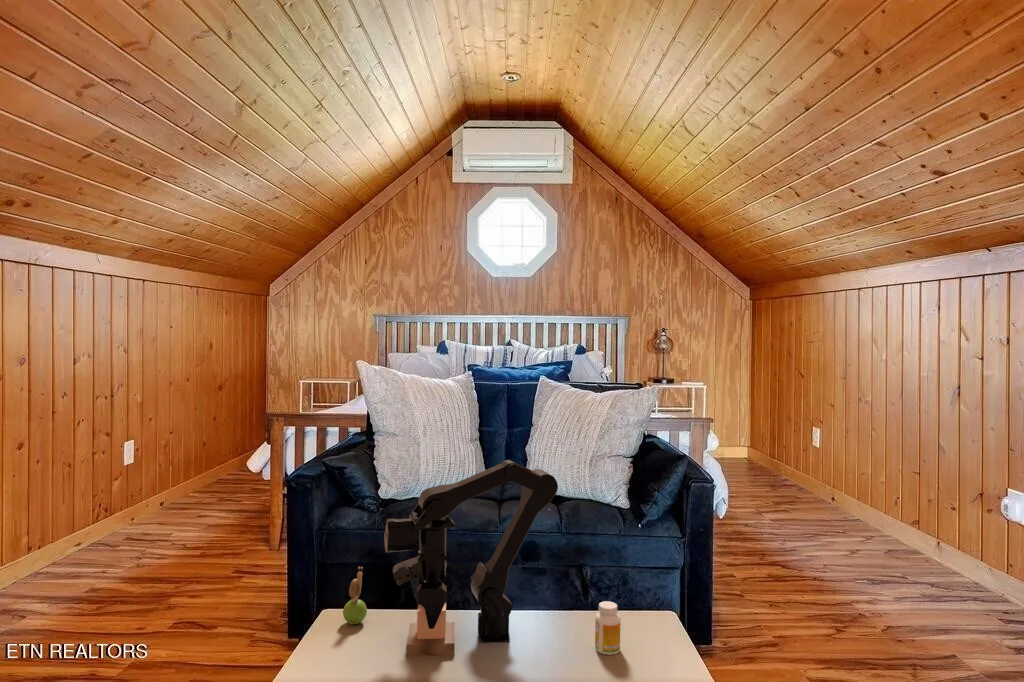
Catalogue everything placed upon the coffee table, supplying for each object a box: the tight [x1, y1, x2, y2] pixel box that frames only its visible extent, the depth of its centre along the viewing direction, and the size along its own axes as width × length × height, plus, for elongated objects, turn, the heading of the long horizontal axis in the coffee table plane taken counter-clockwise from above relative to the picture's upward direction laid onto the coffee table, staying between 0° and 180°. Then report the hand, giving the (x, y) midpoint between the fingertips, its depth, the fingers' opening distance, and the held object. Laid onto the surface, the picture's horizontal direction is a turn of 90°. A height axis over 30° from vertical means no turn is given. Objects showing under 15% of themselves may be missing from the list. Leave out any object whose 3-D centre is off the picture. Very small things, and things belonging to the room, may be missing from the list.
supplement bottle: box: [594, 600, 621, 656], centre depth 139 cm, size 5×5×10 cm
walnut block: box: [406, 621, 456, 657], centre depth 141 cm, size 10×10×3 cm
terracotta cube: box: [416, 602, 447, 639], centre depth 141 cm, size 6×6×6 cm
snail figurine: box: [342, 566, 368, 625], centre depth 151 cm, size 5×6×12 cm
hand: (431, 618), depth 141 cm, fingers open, 9 cm apart
